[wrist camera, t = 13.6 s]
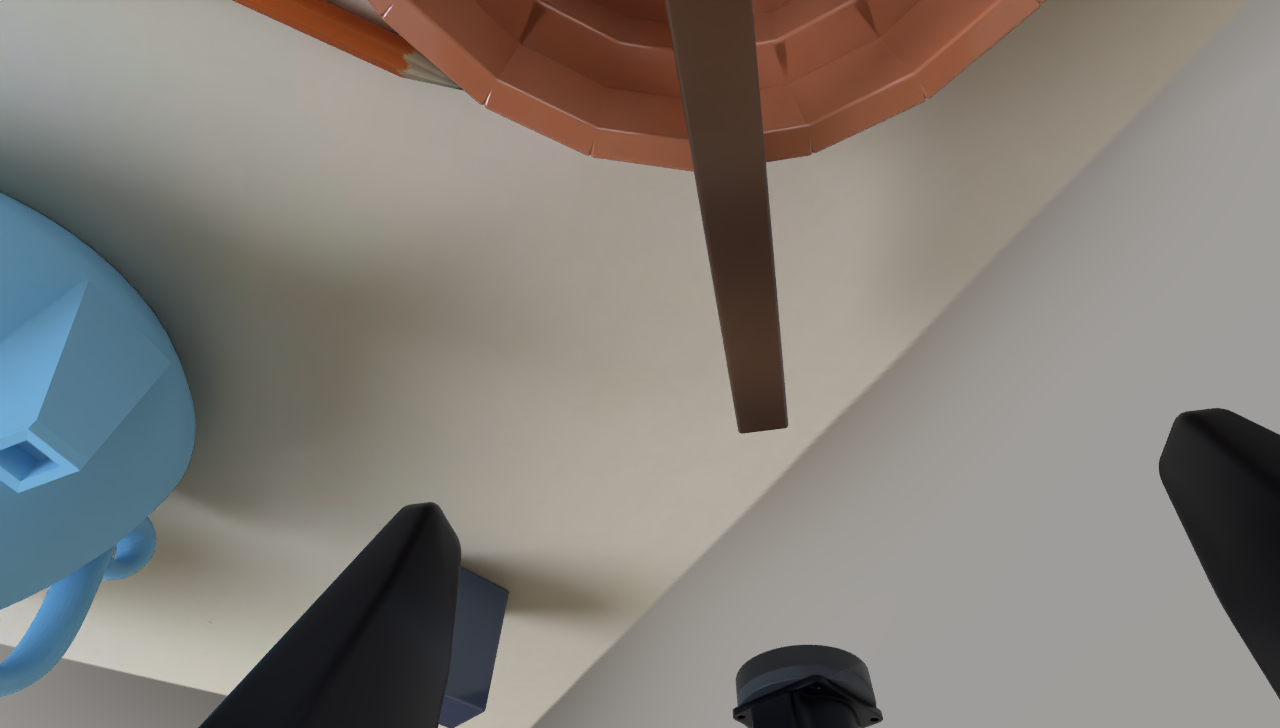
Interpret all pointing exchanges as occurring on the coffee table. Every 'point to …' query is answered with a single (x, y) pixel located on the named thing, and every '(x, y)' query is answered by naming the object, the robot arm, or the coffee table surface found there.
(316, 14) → the pencil
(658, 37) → the bowl
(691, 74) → the brown round-ended long piece
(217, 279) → the coffee table surface
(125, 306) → the teapot
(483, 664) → the slate blue rectangular block
